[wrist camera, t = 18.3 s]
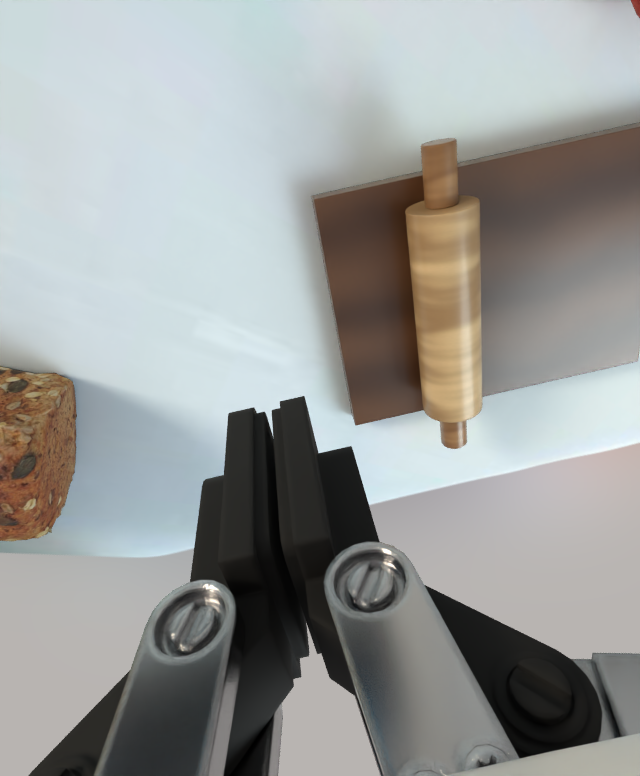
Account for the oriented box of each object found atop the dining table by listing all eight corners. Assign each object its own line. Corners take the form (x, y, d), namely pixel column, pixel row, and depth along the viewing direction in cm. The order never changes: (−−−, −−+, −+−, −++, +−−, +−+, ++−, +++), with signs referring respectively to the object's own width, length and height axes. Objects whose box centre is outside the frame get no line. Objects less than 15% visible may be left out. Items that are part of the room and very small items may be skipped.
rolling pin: (391, 147, 30) (411, 153, 26) (461, 131, 30) (492, 135, 26) (419, 431, 41) (436, 464, 37) (470, 419, 41) (492, 451, 37)
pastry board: (311, 195, 32) (313, 199, 31) (665, 116, 32) (682, 117, 31) (352, 415, 41) (355, 425, 40) (625, 353, 41) (637, 361, 40)
